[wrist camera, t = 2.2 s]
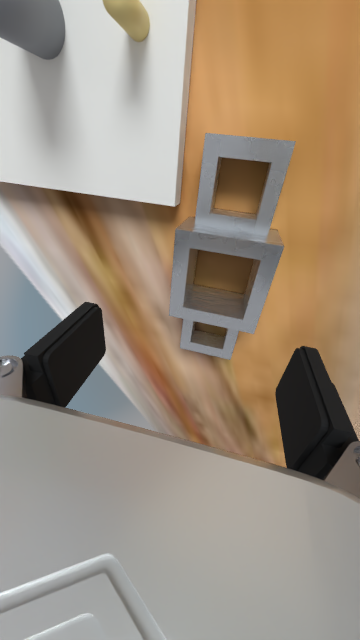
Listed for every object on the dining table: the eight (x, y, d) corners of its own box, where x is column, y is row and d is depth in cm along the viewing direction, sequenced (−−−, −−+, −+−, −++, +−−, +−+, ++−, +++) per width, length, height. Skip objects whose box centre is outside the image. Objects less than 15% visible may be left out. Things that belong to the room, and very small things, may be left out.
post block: (222, -320, 8) (178, -1092, 3) (179, 203, 17) (152, 219, 12) (-142, -250, 10) (-493, -620, 5) (-7, 177, 19) (-91, 181, 15)
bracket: (197, 135, 15) (183, 127, 11) (304, 145, 14) (321, 140, 10) (177, 333, 24) (165, 360, 21) (239, 347, 23) (238, 378, 20)
